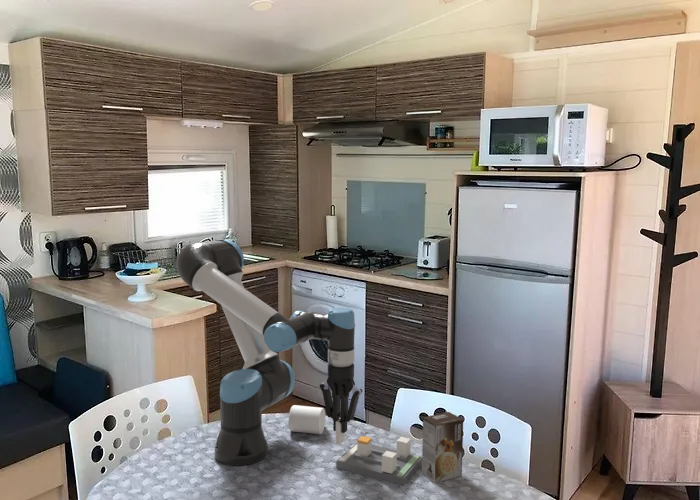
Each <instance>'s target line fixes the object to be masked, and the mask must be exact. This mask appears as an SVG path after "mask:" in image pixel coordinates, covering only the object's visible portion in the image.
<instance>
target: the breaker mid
mask: <svg viewBox="0 0 700 500" xmlns="http://www.w3.org/2000/svg"><path fill="white" fill-rule="evenodd" d="M372 441H373V439H372V437H369V436H364V435H361V436H360V437H359V438H358V439H357V441H356V443H357V455H361V456H365V457H368V456H369V455H370V454H371V445H373V443H372Z"/></svg>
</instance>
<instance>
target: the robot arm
mask: <svg viewBox="0 0 700 500" xmlns="http://www.w3.org/2000/svg"><path fill="white" fill-rule="evenodd" d="M244 262H245V256H244V253H243V251H242V249H241V248H240V246H239V245H238V244H236V243H235V242H234V241H232V240H229V239H214V240H210V241H209V240H208V241H200V242H192V243H190V244H187V245H186V246H184V247H183V248H182V249H181V250H180V251H179V253H178V256H177V259H176V270H177V273H178V275H179V277H180V279H181V280H182V281H183V282H184V283H185V284H186V285H188V286H189V287H190V288H191V289H192V290H194V291H196V292H202V293H204V294H206V295H207V296H209V298H211V299H212V300H214V301H215V302H217V303H218V304H220V306H221V308H222V311H223V313H224V315H225V317H226V320H227V323H228V325H229V327H230V328H229V329H230V330H231V333H232V335H233V338H234V340H235V342H236V344H237V346H238V348H239V352H240V353H241V356H242V359H243V360H244V365H243V367H242V369H239V370H238V369H236V370H233V371H231V372H228V373H227V374H226V375H224V376H223V377H222V379H221V381H220V387H219V389H220V390H219V409H220V410H219V411H220V429H219V434H218V436H217V438H216V442H215V446H214V457H215V459H216V460H217V461H218V462H219V463H221V464H224V465H228V466H246V465H247V466H248V465H250V464H255V463H257V462H260V461H262V460H263V459H265V458H266V456H267V455H268V452H269V447H268V446H269V445H268V441H267V439H266V435H265V432H264V430H263V426H262V424H263V423H262V422H263V421H262V419H263V418H262V417H263V416H262V413H263V412H262V411H265V410H267V409H268V408H269V407H272V406H273V405H274V404H277V403H280V402H281V401H283V400H284V399H285V398H286V397H288V396H289V395H290V394H291V393H292V391H293V390H294V386H295V382H296V378H295V377H296V376H295V373H294V369H293V368H292V366H291V365H290V364H289V363H287V362H286V361H285V360H281V359H280V356H279V353H280V352H284V351H288V350H291V349H292V348H293V347H296V346H298V345H301V344H303V343H306V342H308V341H310V340H319V341H325V342H326V341H327V362H328V364H327V379H326V381H324V382H321V384H319V389H320V391H321V393H322V397H323V401H324V407H325V413H326V416H327V418H330V419H332V421H333V424H332V425H333V427H332V429H333V431H335V444H336V445H341V444H343V443H344V442H345V440H346V439H345V435H346V432H347V431H348V423H349V422H350V421H352V420H353V419H355V418H354V417H355V414H356V410H357V406H358V402H359V398H360V395H361V394H362V393H363V389H362V388H358V387H357V386H356V382H355V380H354V378H355V364H354V362H355V331H356V321H355V312H354V310H353V309H351V308H348V307H333V308H330V309H329V310H328V312H327V313H321V312H315V311H310V310H296V311H294V312H293V313H292V315H291V316H290V318H287V317H286V316H285V315H283V314H281V313H280V312H278V311H277V310H276V309H274V308H273V307H271V306H270V305H268V304H267V303H266V302H264V301H263V300H261V299H260V298H258V296H256V295H255V294H254V293H251V292H250V291H249V290H247V289H246V288H245V287H244V284H243V281H242V278H243V277H244V272H243V267H244ZM350 393H351V398H350V402H349V397H350Z"/></svg>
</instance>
